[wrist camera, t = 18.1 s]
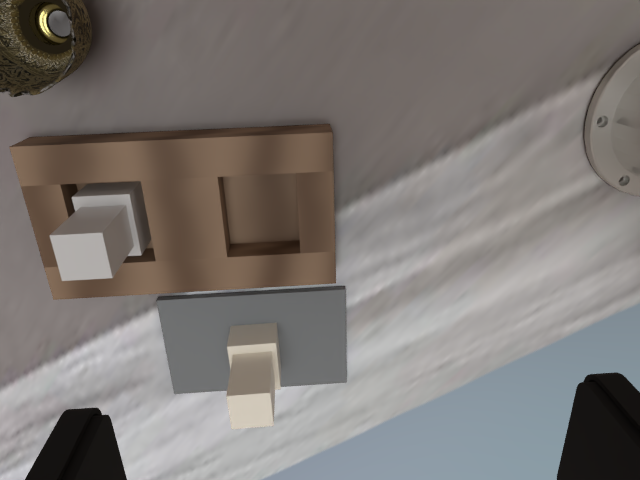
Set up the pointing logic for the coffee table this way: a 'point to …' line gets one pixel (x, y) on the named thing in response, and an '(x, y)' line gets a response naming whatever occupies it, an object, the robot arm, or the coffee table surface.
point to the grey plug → (101, 231)
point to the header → (195, 205)
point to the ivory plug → (253, 374)
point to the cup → (40, 44)
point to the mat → (255, 308)
